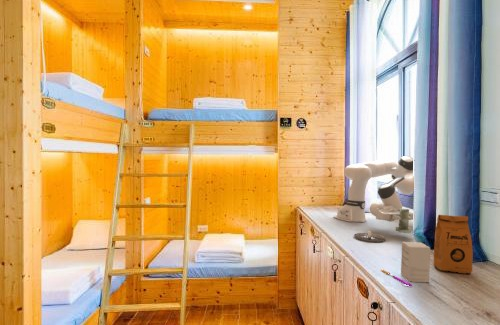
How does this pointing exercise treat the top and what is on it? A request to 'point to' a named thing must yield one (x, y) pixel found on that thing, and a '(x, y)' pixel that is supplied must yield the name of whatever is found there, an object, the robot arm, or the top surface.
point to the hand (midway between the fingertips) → (405, 218)
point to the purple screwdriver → (398, 278)
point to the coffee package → (453, 244)
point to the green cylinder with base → (403, 221)
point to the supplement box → (415, 261)
